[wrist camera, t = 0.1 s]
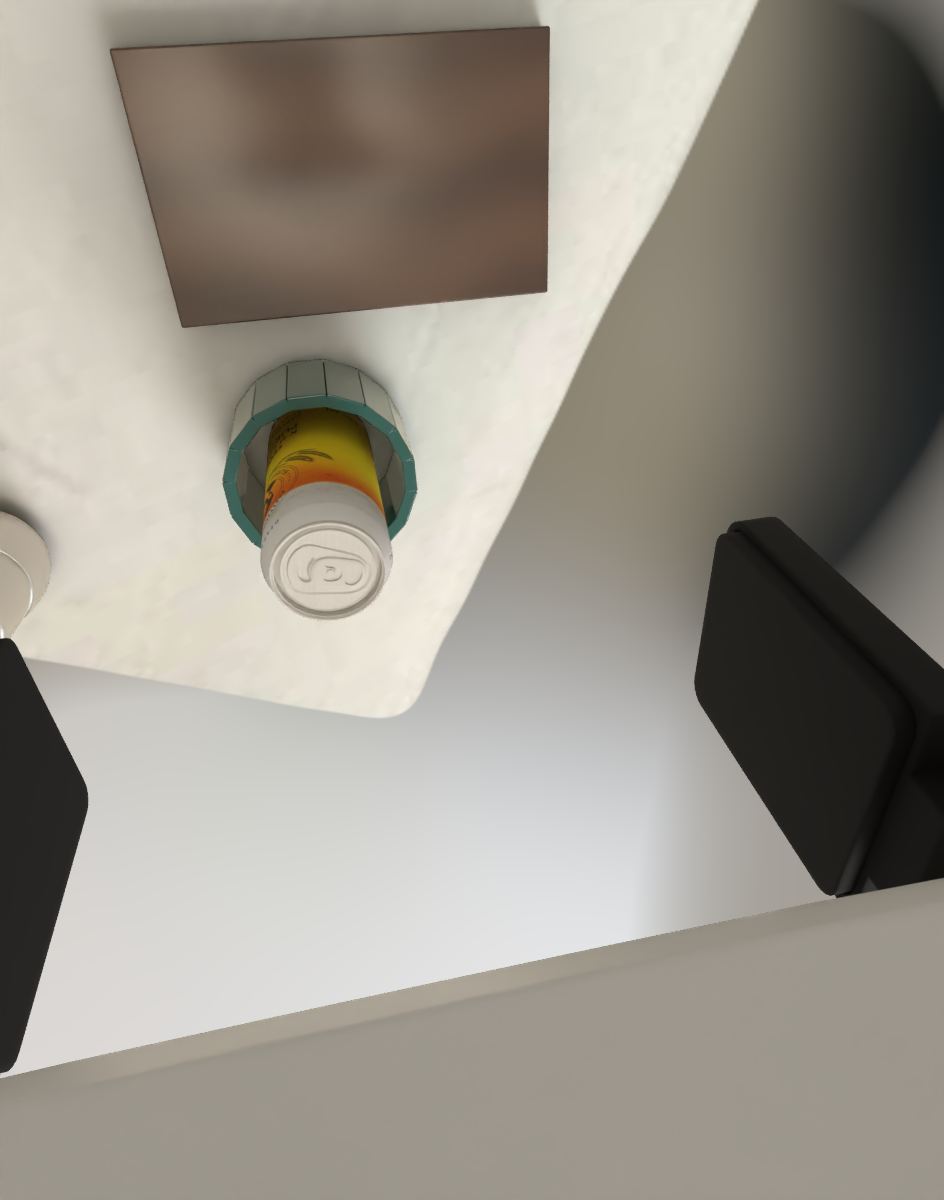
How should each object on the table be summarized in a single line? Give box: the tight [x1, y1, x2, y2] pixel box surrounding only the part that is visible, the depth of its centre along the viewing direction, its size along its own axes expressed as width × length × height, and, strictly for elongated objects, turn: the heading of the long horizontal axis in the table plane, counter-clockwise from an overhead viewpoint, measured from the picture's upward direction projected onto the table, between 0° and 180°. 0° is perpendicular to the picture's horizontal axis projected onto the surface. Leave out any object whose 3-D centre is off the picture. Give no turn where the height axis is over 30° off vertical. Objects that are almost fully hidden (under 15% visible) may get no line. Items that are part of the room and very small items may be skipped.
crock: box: [223, 359, 417, 548], centre depth 44 cm, size 10×10×6 cm
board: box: [110, 26, 550, 328], centre depth 39 cm, size 12×20×2 cm, turn 93°
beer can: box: [261, 407, 393, 621], centre depth 41 cm, size 6×6×15 cm
